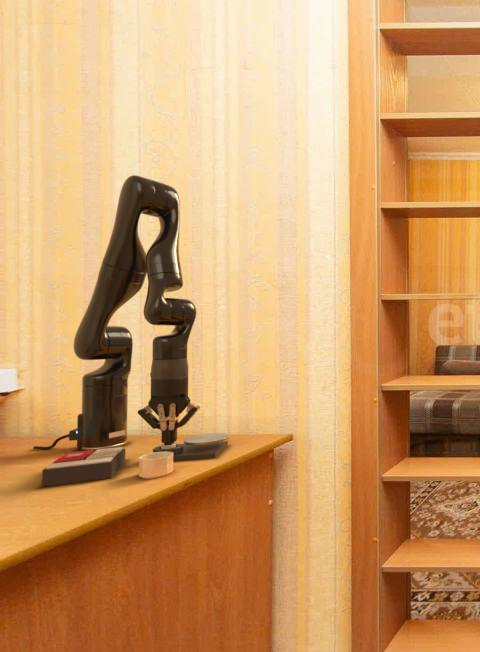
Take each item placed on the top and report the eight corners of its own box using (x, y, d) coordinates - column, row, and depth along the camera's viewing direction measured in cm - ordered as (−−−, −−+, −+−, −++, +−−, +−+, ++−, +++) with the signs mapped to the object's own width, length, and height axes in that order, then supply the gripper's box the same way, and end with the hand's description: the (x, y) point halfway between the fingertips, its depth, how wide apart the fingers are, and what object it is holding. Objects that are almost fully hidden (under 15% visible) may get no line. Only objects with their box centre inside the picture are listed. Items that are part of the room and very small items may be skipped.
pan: (177, 446, 112) (177, 444, 112) (191, 436, 121) (191, 434, 121) (223, 443, 115) (223, 441, 115) (232, 434, 124) (233, 432, 124)
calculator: (126, 445, 109) (112, 458, 97) (125, 462, 109) (111, 478, 96) (64, 451, 103) (41, 466, 91) (64, 469, 103) (40, 487, 90)
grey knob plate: (148, 463, 107) (148, 451, 107) (167, 449, 118) (167, 438, 118) (215, 458, 112) (215, 446, 112) (227, 445, 123) (227, 435, 123)
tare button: (158, 452, 109) (158, 446, 109) (163, 449, 112) (163, 443, 112) (173, 451, 110) (173, 445, 110) (177, 448, 113) (177, 442, 113)
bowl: (133, 481, 95) (134, 460, 95) (145, 472, 101) (146, 452, 101) (166, 478, 98) (167, 458, 98) (176, 469, 103) (177, 450, 103)
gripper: (205, 374, 117) (204, 438, 117) (144, 375, 112) (143, 442, 112) (196, 377, 110) (195, 446, 110) (130, 378, 105) (129, 450, 105)
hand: (169, 444), depth 111 cm, fingers closed
